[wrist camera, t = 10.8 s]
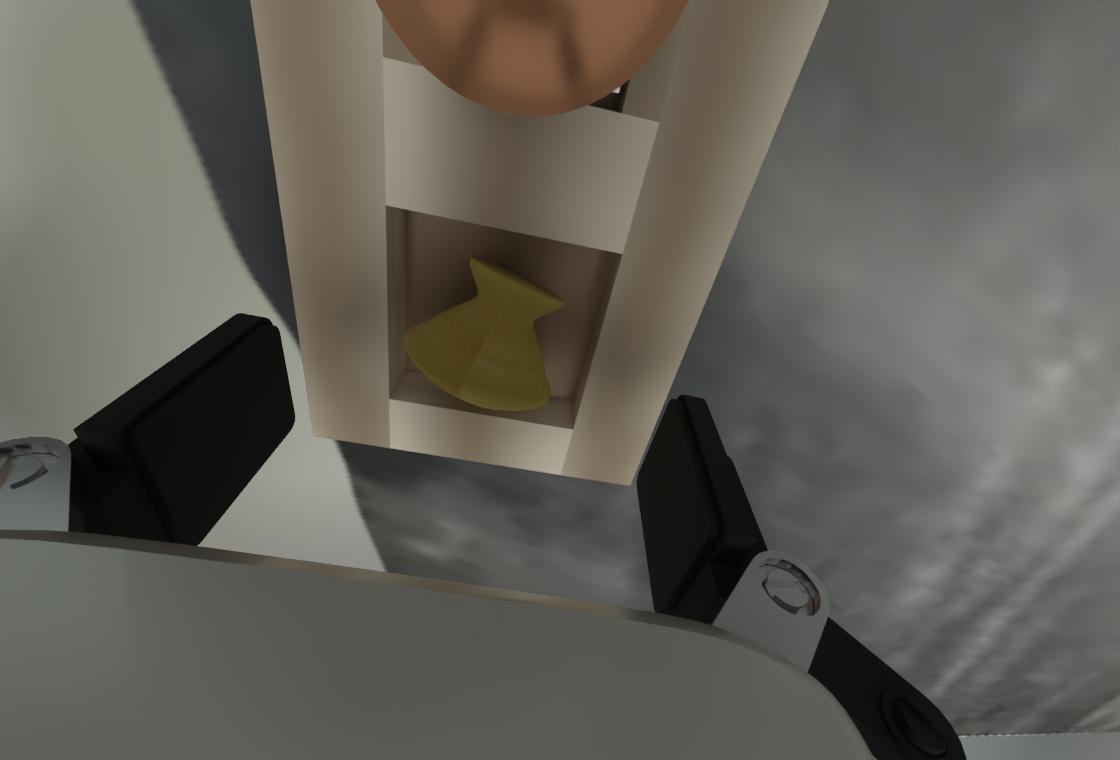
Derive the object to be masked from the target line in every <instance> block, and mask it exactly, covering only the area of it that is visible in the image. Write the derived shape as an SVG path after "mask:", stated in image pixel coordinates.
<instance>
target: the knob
mask: <svg viewBox="0 0 1120 760" xmlns="http://www.w3.org/2000/svg"><path fill="white" fill-rule="evenodd" d="M470 267H471V270H472V273H473V277H474V279H475V282H476V285H477V289H478V294H477V296H476V297H475V298H473V299H471V300H469V301H467V302H464V303H462V304H460V305H457V306H455V307H453V308H450V309H448V310H446V311H444V312H442V313H440V314H438V315H436V316H434V317H433V318H431V319H430V320H428V321H426V322H423V323H420V324H417V325H415V326H413V327H411V328H410V329H408V331H407V333H406V335H405V337H404V340H403V343H404V347H405V349H406V351H407V353H408V355H409V356H410V358H411V359H412V360H413V362H414V363H415V364H416V366H417V367H418V368H419V369H420V370H421V371H422V372H423V373H424V374H425V375H426V376H427V377H428V378H429V379H430V380H431V381H432V382H434V383H435V384H436V385H437V386H438V387H440V388H441V389H443V390H444V391H446V392H448V393H449V394H451V395H453V396H455V397H457V398H459V399H461V400H463V401H466V402H468V403H471V404H474V405H476V406H480V407H483V408H488V409H493V410H504V411H522V410H530V409H535V408H539V407H542V406H543V405H545V404H546V403H547V401H548V399H549V397H550V395H551V388H550V385H549V382H548V380H547V377H546V372H545V365H544V360H543V356H542V352H541V349H540V346H539V342H538V339H537V336H536V333H535V329H534V321H535V320H536V319H537V318H539V317H540V316H543V315H545V314H548V313H550V312H552V311H555V310H557V309H559V308H561V307H562V306H563V305H564V301H563V300H562V299H561V298H560V297H559V296H557V295H556V294H554V293H552V292H551V291H549V290H547V289H545V288H543V287H542V286H540V285H538V284H536V283H534V282H532V281H530V280H528V279H526V278H524V277H522V276H520V275H518V274H516V273H514V272H512V271H510V270H507V269H505V268H503V267H501V266H499V265H496V264H494V263H491V262H489V261H486V260H484V259H481V258H478V257H471V258H470Z"/></svg>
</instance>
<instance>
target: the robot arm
mask: <svg viewBox="0 0 1120 760" xmlns="http://www.w3.org/2000/svg"><path fill="white" fill-rule="evenodd" d="M294 422H295V412H294V407H293V401H292V397H291V391H290V385H289V379H288V374H287V369H286V363H285V358H284V353H283V347H282V342H281V336H280V332H279V329H278V328H277V327H276V326H273V324H272V322H271V321H270V320H269V319H268V318H264V317H258V316H253V315H247V314H242V313H240V314H236V315H235V316H233V317H231V318H230V319H229V320H227V321H226V322H225V323H223V324H222V325H220V326H219V327H217V328H216V329H215V330H213V331H212V332H210V333H209V334H208V335H206V336H205V337H203V338H202V339H200V340H199V341H198V342H196V343H195V344H193V345H192V346H191V347H189V348H188V349H186V350H185V351H183V352H182V353H181V354H179V355H178V356H176V357H175V358H174V359H172V360H171V361H170V362H168V363H166V364H165V365H164V366H162V367H161V368H159V369H158V370H157V371H155V372H154V373H152V374H151V375H150V376H148V377H147V378H145V379H144V380H142V381H141V382H140V383H138V384H137V385H135V386H134V387H133V388H131V389H130V390H128V391H127V392H126V393H124V394H123V395H121V396H120V397H119V398H117V399H116V400H114V401H113V402H112V403H110V404H109V405H107V406H106V407H104V408H103V409H102V410H100V411H99V412H97V413H96V414H94V415H93V416H92V417H90V418H89V419H87V420H86V421H85V422H83V423H82V424H80V425H79V426H78V427H76V428H75V429H74V432H75V433H76V435H77V437H78V438H77V439H75V440H74V441H73V442H71V443H70V444H68V445H67V444H65V443H64V442H62V441H61V440H58V439H53V438H49V437H28V438H20V439H13V440H9V441H5V442H1V443H0V760H966V756H965V753H964V750H963V747H962V744H961V741H960V740H959V738H958V736H957V734H956V733H955V731H954V729H953V727H952V726H951V724H950V723H949V722H948V720H947V719H946V718H945V716H944V715H943V714H942V713H941V711H940V710H939V709H938V708H937V707H936V706H935V705H934V704H933V703H932V702H931V701H930V700H929V699H928V698H926V697H925V696H924V695H923V694H922V693H921V692H919V691H918V690H917V689H916V688H915V687H913V686H912V685H911V684H910V683H908V682H907V681H906V680H905V679H904V678H902V677H901V676H900V675H899V674H898V673H896V672H895V671H894V670H893V669H891V668H890V667H889V666H888V665H887V664H885V663H884V662H883V661H882V660H880V659H879V658H878V657H877V656H876V655H874V654H873V653H872V652H871V651H869V650H868V649H867V648H866V647H865V646H863V645H862V644H861V643H860V642H858V641H857V640H856V639H855V638H854V637H852V636H851V635H850V634H849V633H847V632H846V631H845V630H844V629H843V628H841V627H840V626H839V625H838V624H837V623H835V622H834V621H833V620H832V619H830V618H829V617H828V615H829V607H830V604H829V601H828V597H827V593H826V592H825V590H824V588H823V586H822V584H821V582H820V581H819V580H818V579H817V578H816V576H815V575H814V574H813V573H812V572H811V571H810V570H809V569H808V568H807V567H805V566H804V565H803V564H802V563H801V562H799V561H797V560H796V559H794V558H792V557H791V556H789V555H786V554H783V553H780V552H776V551H768V550H767V547H766V545H765V542H764V539H763V537H762V534H761V532H760V529H759V527H758V524H757V522H756V519H755V517H754V514H753V512H752V509H751V507H750V504H749V501H748V499H747V496H746V494H745V491H744V489H743V486H742V484H741V481H740V479H739V476H738V474H737V471H736V469H735V466H734V464H733V462H732V460H731V458H729V457H728V456H727V454H726V452H725V449H724V447H723V444H722V442H721V439H720V436H719V434H718V431H717V429H716V426H715V423H714V421H713V418H712V416H711V413H710V410H709V408H708V405H707V403H706V401H705V399H703V398H698V397H693V396H687V395H680V396H679V397H678V398H677V399H671V400H670V402H669V404H668V406H667V408H666V410H665V413H664V415H663V417H662V420H661V422H660V424H659V427H658V429H657V431H656V434H655V436H654V438H653V441H652V443H651V445H650V448H649V450H648V452H647V455H646V457H645V459H644V462H643V464H642V466H641V469H640V471H639V474H638V478H637V491H638V498H639V506H640V513H641V520H642V527H643V534H644V541H645V548H646V555H647V563H648V570H649V577H650V584H651V591H652V598H653V605H654V610H655V612H656V613H654V612H648V611H642V610H636V609H630V608H624V607H618V606H612V605H606V604H600V603H594V602H587V601H581V600H574V599H567V598H560V597H553V596H547V595H540V594H533V593H526V592H519V591H513V590H506V589H499V588H492V587H485V586H479V585H472V584H465V583H458V582H451V581H444V580H437V579H430V578H423V577H416V576H409V575H402V574H395V573H388V572H380V571H373V570H366V569H359V568H352V567H345V566H338V565H331V564H324V563H316V562H308V561H302V560H294V559H287V558H280V557H273V556H264V555H258V554H250V553H243V552H236V551H229V550H221V549H214V548H206V547H199V546H197V545H199V544H200V543H201V542H202V540H203V539H204V538H205V537H206V535H207V534H208V533H209V531H210V530H211V529H212V528H213V527H214V525H215V524H216V523H217V522H218V520H219V519H220V518H221V517H222V515H223V514H224V513H225V512H226V510H227V509H228V508H229V507H230V505H231V504H232V503H233V502H234V500H235V499H236V498H237V497H238V495H239V494H240V493H241V492H242V491H243V489H244V488H245V487H246V486H247V484H248V483H249V482H250V481H251V479H252V478H253V477H254V475H255V474H256V473H257V472H258V471H259V469H260V468H261V467H262V466H263V464H264V463H265V462H266V460H267V459H268V458H269V457H270V456H271V454H272V453H273V452H274V451H275V449H276V448H277V447H278V446H279V444H280V443H281V442H282V441H283V439H284V438H285V437H286V436H287V434H288V433H289V432H290V431H291V429H292V427H293V425H294Z"/></svg>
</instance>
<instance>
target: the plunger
mask: <svg viewBox="0 0 1120 760" xmlns="http://www.w3.org/2000/svg"><path fill="white" fill-rule="evenodd" d="M375 1H376V3H377V5H378V7H379V8H380V10H381V11H382V13H383V15H384V16H385V18H386V20H387V21H388V23H389V24H390V26H391V28H392V29H393V31H394V32H395V33H396V35H397V36H398V37H399V39H400V40H401V41H402V42H403V44H404V45H405V46H406V48H407V49H408V50H409V52H410V53H411V54H412V55H413V56H414V57H415V58H416V59H417V60H418V61H419V62H420V63H421V64H422V65H423V66H424V67H425V68H426V69H427V70H428V71H429V72H430V73H431V74H433V75H434V76H435V77H436V78H437V79H439V80H440V81H441V82H442V83H443V84H445V85H446V86H447V87H449V88H451V89H452V90H454V91H455V92H457V93H458V94H460V95H461V96H463V97H465V98H467V99H469V100H471V101H473V102H475V103H477V104H479V105H482V106H484V107H487V108H490V109H493V110H496V111H500V112H503V113H508V114H515V115H521V116H548V115H554V114H561V113H566V112H569V111H572V110H576V109H579V108H582V107H585V106H587V105H589V104H591V103H593V102H595V101H597V100H600V99H602V98H604V97H605V96H607V95H608V94H610V93H611V92H616V93H619V91H620V86H622V85H623V84H624V83H625V82H627V81H628V80H629V79H630V78H631V77H632V76H633V75H635V74H636V73H637V72H638V71H639V70H640V69H641V68H642V67H643V66H644V65H645V64H646V63H647V62H648V60H649V59H650V58H651V57H652V56H653V55H654V54H655V53H656V52H657V50H658V49H659V48H660V46H661V45H662V43H663V42H664V41H665V39H666V38H667V36H668V35H669V34H670V32H671V31H672V29H673V28H674V26H675V24H676V23H677V21H678V19H679V17H680V15H681V14H682V12H683V10H684V8H685V7H686V5H687V3H688V1H689V0H375Z"/></svg>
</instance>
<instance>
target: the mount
mask: <svg viewBox="0 0 1120 760" xmlns="http://www.w3.org/2000/svg"><path fill="white" fill-rule="evenodd" d="M828 3H829V0H689V1H688V3H687V5H686V7H685V8H684V10H683V12H682V14H681V15H680V17H679V19H678V21H677V23H676V24H675V26H674V28H673V29H672V31H671V32H670V34H669V35H668V36H667V38H666V39H665V41H664V42H663V43H662V45H661V46H660V48H659V49H658V50H657V52H656V53H655V54H654V55H653V56H652V57H651V58H650V59H649V60H648V62H647V63H646V64H645V65H644V66H643V67H642V68H641V69H640V70H639V71H638V72H637V73H636V74H635V75H633V76H632V77H631V78H630V79H629V80H628V81H627V82H625V83H624V84H623V85H622V86H620V91H619V93H616V92H611V93H610V94H608V95H607V96H605V97H604V98H602V99H600V100H597V101H595V102H593V103H591V104H589V105H587V106H585V107H582V108H579V109H576V110H572V111H569V112H566V113H561V114H554V115H548V116H521V115H515V114H508V113H503V112H500V111H496V110H493V109H490V108H487V107H484V106H482V105H479V104H477V103H475V102H473V101H471V100H469V99H467V98H465V97H463V96H461V95H460V94H458V93H457V92H455V91H454V90H452V89H451V88H449V87H447V86H446V85H445V84H443V83H442V82H441V81H440V80H439V79H437V78H436V77H435V76H434V75H433V74H431V73H430V72H429V71H428V70H427V69H426V68H425V67H424V66H423V65H422V64H421V63H420V62H419V61H418V60H417V59H416V58H415V57H414V56H413V55H412V54H411V53H410V52H409V50H408V49H407V48H406V46H405V45H404V44H403V42H402V41H401V40H400V39H399V37H398V36H397V35H396V33H395V32H394V31H393V29H392V28H391V26H390V24H389V23H388V21H387V20H386V18H385V16H384V15H383V13H382V11H381V10H380V8H379V7H378V5H377V3H376V1H375V0H251V7H252V14H253V21H254V28H255V35H256V42H257V49H258V56H259V63H260V70H261V77H262V84H263V91H264V98H265V105H266V112H267V118H268V125H269V132H270V139H271V146H272V153H273V160H274V167H275V174H276V181H277V188H278V195H279V202H280V209H281V216H282V223H283V230H284V237H285V244H286V251H287V258H288V264H289V271H290V278H291V285H292V292H293V299H294V306H295V313H296V320H297V327H298V334H299V341H300V348H301V355H302V362H303V369H304V376H305V383H306V389H307V397H308V404H309V410H310V417H311V424H312V431H313V436H317V437H323V438H329V439H335V440H342V441H348V442H354V443H361V444H367V445H373V446H380V447H386V448H392V449H399V450H405V451H411V452H418V453H424V454H430V455H437V456H443V457H449V458H456V459H462V460H469V461H475V462H481V463H488V464H494V465H500V466H507V467H513V468H519V469H526V470H532V471H538V472H545V473H551V474H557V475H564V476H570V477H576V478H583V479H589V480H595V481H602V482H608V483H614V484H621V485H627V486H630V485H631V483H632V480H633V478H634V475H635V473H636V471H637V468H638V466H639V463H640V461H641V458H642V456H643V453H644V451H645V449H646V446H647V444H648V441H649V439H650V436H651V434H652V432H653V429H654V427H655V424H656V422H657V419H658V417H659V415H660V412H661V410H662V407H663V405H664V402H665V400H666V397H667V395H668V393H669V390H670V388H671V385H672V383H673V380H674V378H675V376H676V373H677V371H678V368H679V366H680V363H681V361H682V358H683V356H684V354H685V351H686V349H687V346H688V344H689V341H690V339H691V337H692V334H693V332H694V329H695V327H696V324H697V322H698V320H699V317H700V315H701V312H702V310H703V307H704V305H705V302H706V300H707V298H708V295H709V293H710V290H711V288H712V285H713V283H714V281H715V278H716V276H717V273H718V271H719V268H720V266H721V263H722V261H723V259H724V256H725V254H726V251H727V249H728V246H729V244H730V242H731V239H732V237H733V234H734V232H735V229H736V227H737V224H738V222H739V220H740V217H741V215H742V212H743V210H744V207H745V205H746V203H747V200H748V198H749V195H750V193H751V190H752V188H753V186H754V183H755V181H756V178H757V176H758V173H759V171H760V168H761V166H762V164H763V161H764V159H765V156H766V154H767V151H768V149H769V147H770V144H771V142H772V139H773V137H774V134H775V132H776V129H777V127H778V125H779V122H780V120H781V117H782V115H783V112H784V110H785V108H786V105H787V103H788V100H789V98H790V95H791V93H792V90H793V88H794V86H795V83H796V81H797V78H798V76H799V73H800V71H801V69H802V66H803V64H804V61H805V59H806V56H807V54H808V52H809V49H810V47H811V44H812V42H813V39H814V37H815V34H816V32H817V30H818V27H819V25H820V22H821V20H822V17H823V15H824V13H825V10H826V8H827V5H828ZM471 257H478V258H481V259H484V260H486V261H489V262H491V263H494V264H496V265H499V266H501V267H503V268H505V269H507V270H510V271H512V272H514V273H516V274H518V275H520V276H522V277H524V278H526V279H528V280H530V281H532V282H534V283H536V284H538V285H540V286H542V287H543V288H545V289H547V290H549V291H551V292H552V293H554V294H556V295H557V296H559V297H560V298H561V299H562V300H563V301H564V305H563V306H562V307H561V308H559V309H557V310H555V311H552V312H550V313H548V314H545V315H543V316H540V317H539V318H537V319H536V320H535V321H534V329H535V333H536V336H537V339H538V342H539V346H540V349H541V352H542V356H543V360H544V365H545V372H546V377H547V380H548V382H549V385H550V388H551V395H550V397H549V399H548V401H547V403H546V404H545V405H543V406H542V407H539V408H535V409H530V410H522V411H504V410H493V409H488V408H483V407H480V406H476V405H474V404H471V403H468V402H466V401H463V400H461V399H459V398H457V397H455V396H453V395H451V394H449V393H448V392H446V391H444V390H443V389H441V388H440V387H438V386H437V385H436V384H435V383H434V382H432V381H431V380H430V379H429V378H428V377H427V376H426V375H425V374H424V373H423V372H422V371H421V370H420V369H419V368H418V367H417V366H416V364H415V363H414V362H413V360H412V359H411V358H410V356H409V355H408V353H407V351H406V349H405V347H404V343H403V340H404V337H405V335H406V333H407V331H408V329H410V328H411V327H413V326H415V325H417V324H420V323H423V322H426V321H428V320H430V319H431V318H433V317H434V316H436V315H438V314H440V313H442V312H444V311H446V310H448V309H450V308H453V307H455V306H457V305H460V304H462V303H464V302H467V301H469V300H471V299H473V298H475V297H476V296H477V294H478V289H477V285H476V282H475V279H474V277H473V273H472V270H471V267H470V258H471Z"/></svg>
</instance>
